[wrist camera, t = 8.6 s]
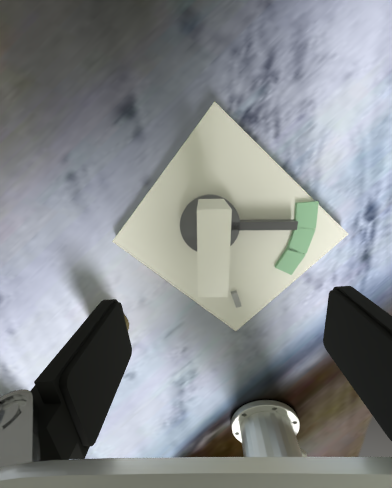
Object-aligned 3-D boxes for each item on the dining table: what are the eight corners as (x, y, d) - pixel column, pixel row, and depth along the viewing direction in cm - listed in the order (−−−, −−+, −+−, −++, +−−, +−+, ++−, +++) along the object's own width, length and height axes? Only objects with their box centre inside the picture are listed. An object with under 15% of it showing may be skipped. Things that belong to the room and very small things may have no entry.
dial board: (341, 230, 26) (352, 234, 24) (234, 324, 32) (236, 333, 30) (214, 104, 22) (215, 98, 20) (116, 237, 28) (110, 242, 26)
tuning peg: (182, 250, 26) (169, 296, 16) (179, 194, 24) (163, 209, 14) (288, 250, 26) (341, 297, 16) (296, 193, 23) (364, 208, 14)
